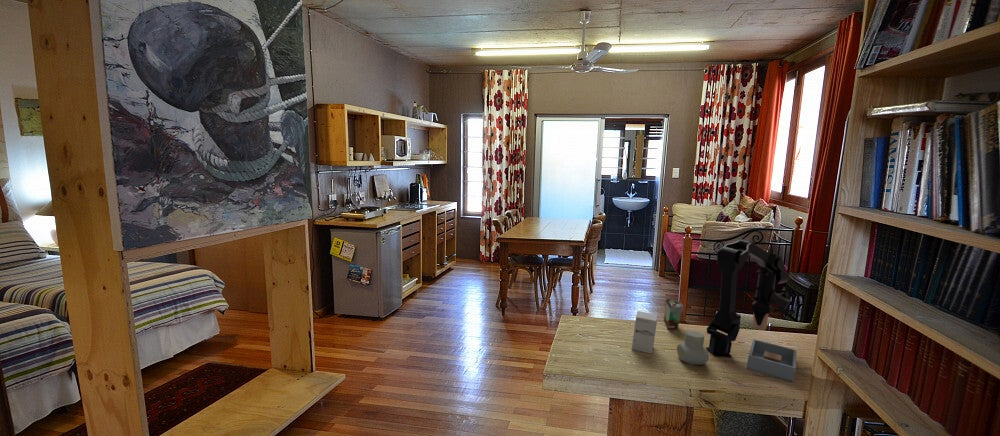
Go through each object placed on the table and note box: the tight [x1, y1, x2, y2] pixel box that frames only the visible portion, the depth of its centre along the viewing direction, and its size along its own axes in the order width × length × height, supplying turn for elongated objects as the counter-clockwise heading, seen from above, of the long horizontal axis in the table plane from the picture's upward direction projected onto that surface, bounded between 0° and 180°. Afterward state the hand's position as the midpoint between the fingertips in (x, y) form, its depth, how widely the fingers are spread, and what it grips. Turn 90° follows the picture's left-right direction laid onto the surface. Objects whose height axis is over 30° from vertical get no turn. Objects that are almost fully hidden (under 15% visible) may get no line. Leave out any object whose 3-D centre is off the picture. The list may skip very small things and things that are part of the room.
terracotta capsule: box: [750, 312, 770, 331], centre depth 175 cm, size 5×5×7 cm
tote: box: [746, 338, 797, 383], centre depth 157 cm, size 18×14×5 cm
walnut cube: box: [763, 351, 782, 363], centre depth 154 cm, size 5×5×5 cm
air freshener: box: [676, 330, 710, 366], centre depth 156 cm, size 11×8×10 cm
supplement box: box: [631, 310, 659, 354], centre depth 164 cm, size 7×7×13 cm
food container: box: [663, 297, 685, 331], centre depth 188 cm, size 12×6×10 cm, turn 168°
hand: (759, 323), depth 175 cm, fingers closed on terracotta capsule, 5 cm apart
